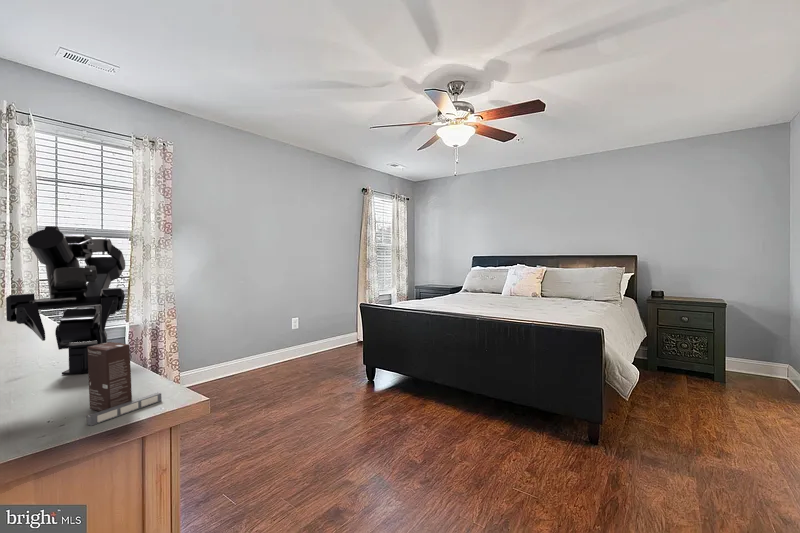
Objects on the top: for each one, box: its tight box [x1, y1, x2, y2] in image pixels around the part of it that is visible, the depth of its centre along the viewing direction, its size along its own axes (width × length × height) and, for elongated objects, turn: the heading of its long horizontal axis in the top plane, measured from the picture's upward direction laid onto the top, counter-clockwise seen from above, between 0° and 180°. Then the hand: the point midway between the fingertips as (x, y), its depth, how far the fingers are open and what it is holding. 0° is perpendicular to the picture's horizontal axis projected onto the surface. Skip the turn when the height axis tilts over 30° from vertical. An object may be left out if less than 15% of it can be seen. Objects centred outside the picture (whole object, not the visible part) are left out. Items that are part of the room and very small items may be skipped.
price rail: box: [86, 391, 162, 427], centre depth 68 cm, size 1×12×2 cm, turn 156°
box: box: [87, 341, 133, 412], centre depth 70 cm, size 6×4×12 cm
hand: (74, 335), depth 77 cm, fingers open, 9 cm apart
